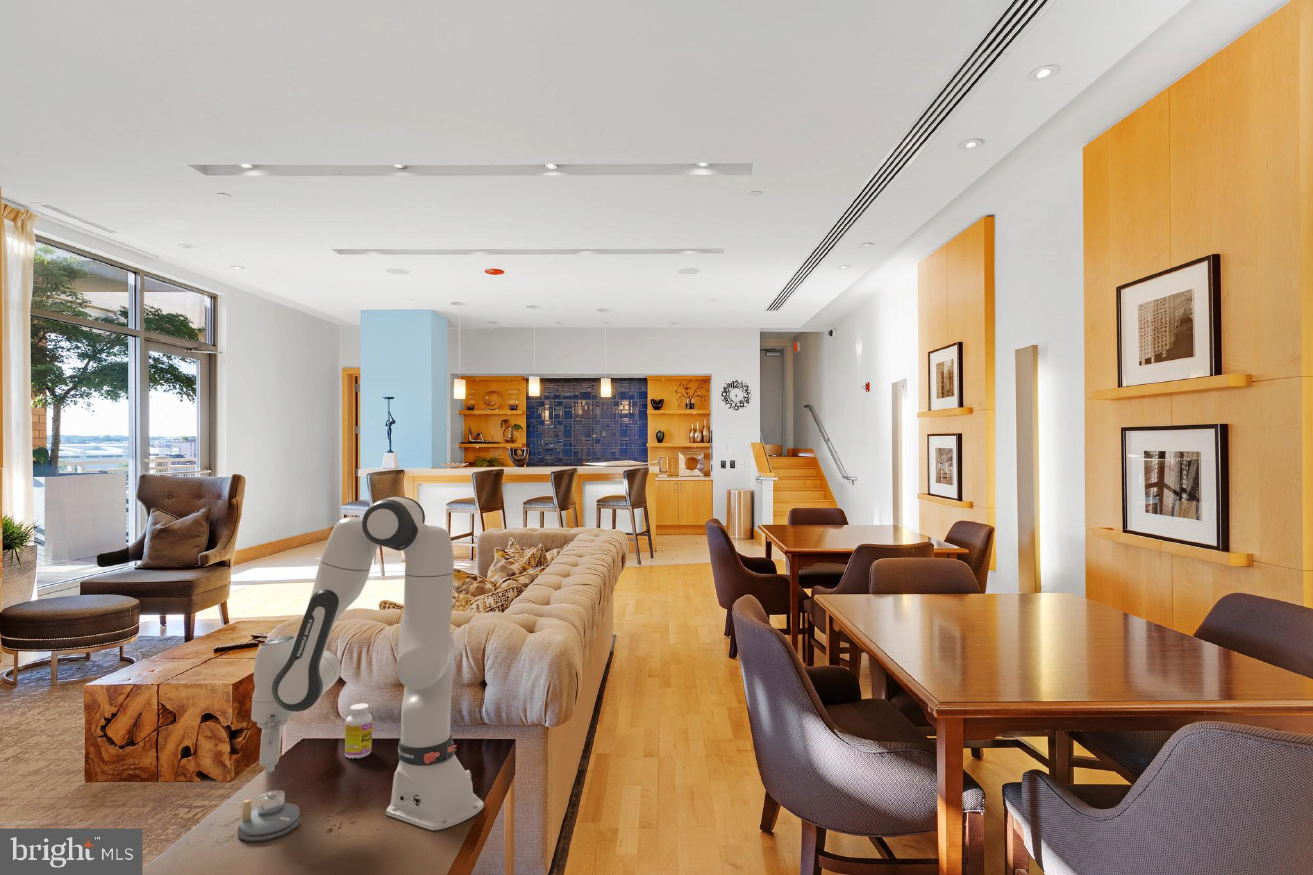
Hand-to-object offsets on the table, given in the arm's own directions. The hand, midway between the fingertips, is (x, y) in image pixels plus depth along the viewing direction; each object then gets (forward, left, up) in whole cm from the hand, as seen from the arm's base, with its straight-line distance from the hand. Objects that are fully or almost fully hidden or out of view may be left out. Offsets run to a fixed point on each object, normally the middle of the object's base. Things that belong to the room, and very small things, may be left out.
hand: (270, 769), depth 158 cm
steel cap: (-8, +3, -6) cm, 10 cm away
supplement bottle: (+11, -27, -9) cm, 31 cm away
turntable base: (-10, +4, -8) cm, 13 cm away
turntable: (-10, +4, -7) cm, 13 cm away
